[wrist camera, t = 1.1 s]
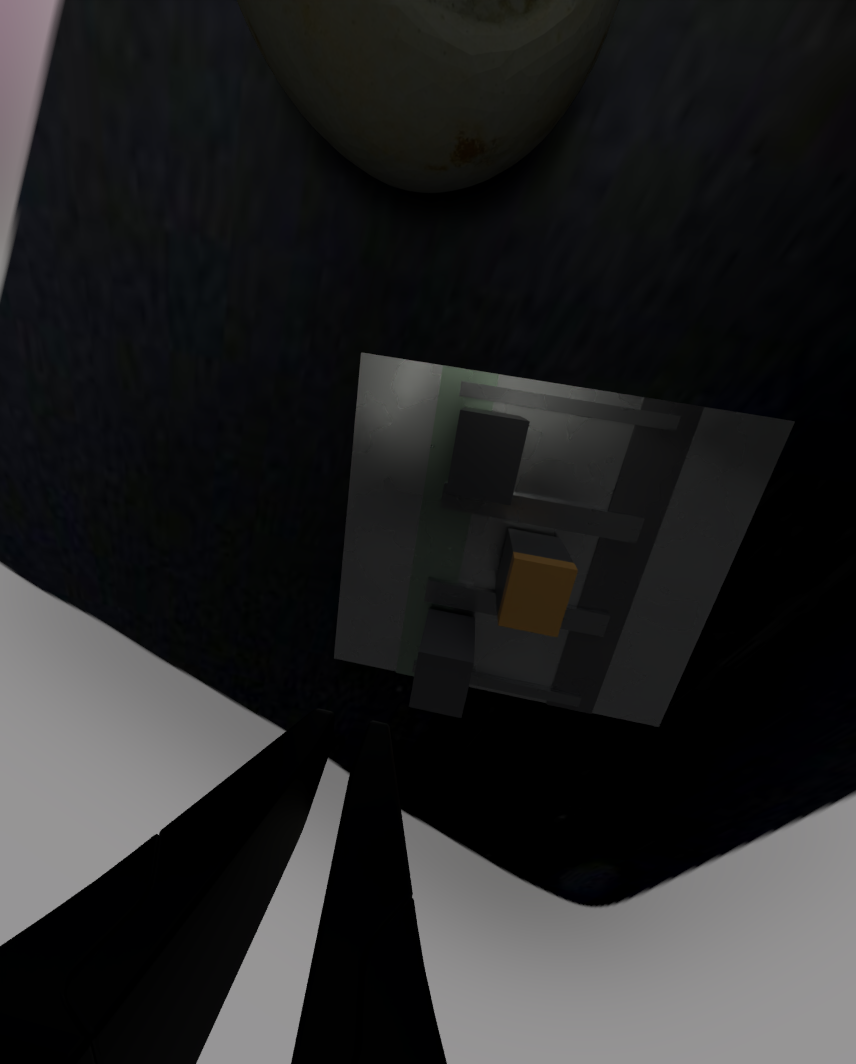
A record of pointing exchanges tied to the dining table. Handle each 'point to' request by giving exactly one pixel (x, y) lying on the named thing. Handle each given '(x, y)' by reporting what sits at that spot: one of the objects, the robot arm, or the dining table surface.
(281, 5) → the seashell
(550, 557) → the handle
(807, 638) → the dining table surface
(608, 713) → the panel
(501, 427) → the handle
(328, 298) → the dining table surface
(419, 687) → the handle
